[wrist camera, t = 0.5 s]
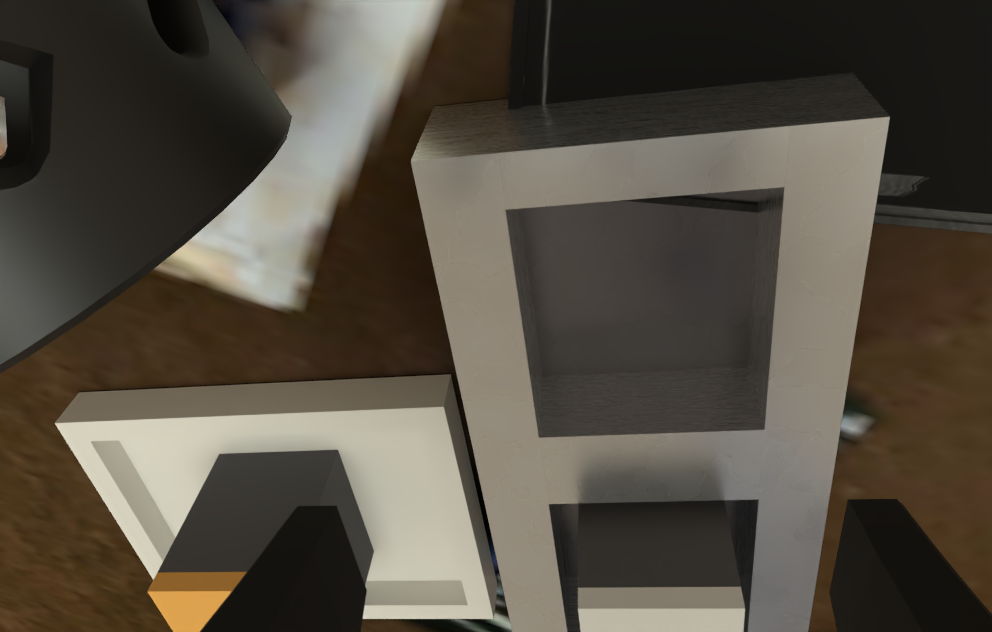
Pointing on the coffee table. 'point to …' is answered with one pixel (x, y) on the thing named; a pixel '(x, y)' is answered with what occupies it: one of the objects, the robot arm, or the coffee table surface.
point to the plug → (248, 526)
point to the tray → (306, 427)
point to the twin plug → (657, 568)
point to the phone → (792, 77)
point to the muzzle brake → (116, 149)
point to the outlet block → (655, 317)
